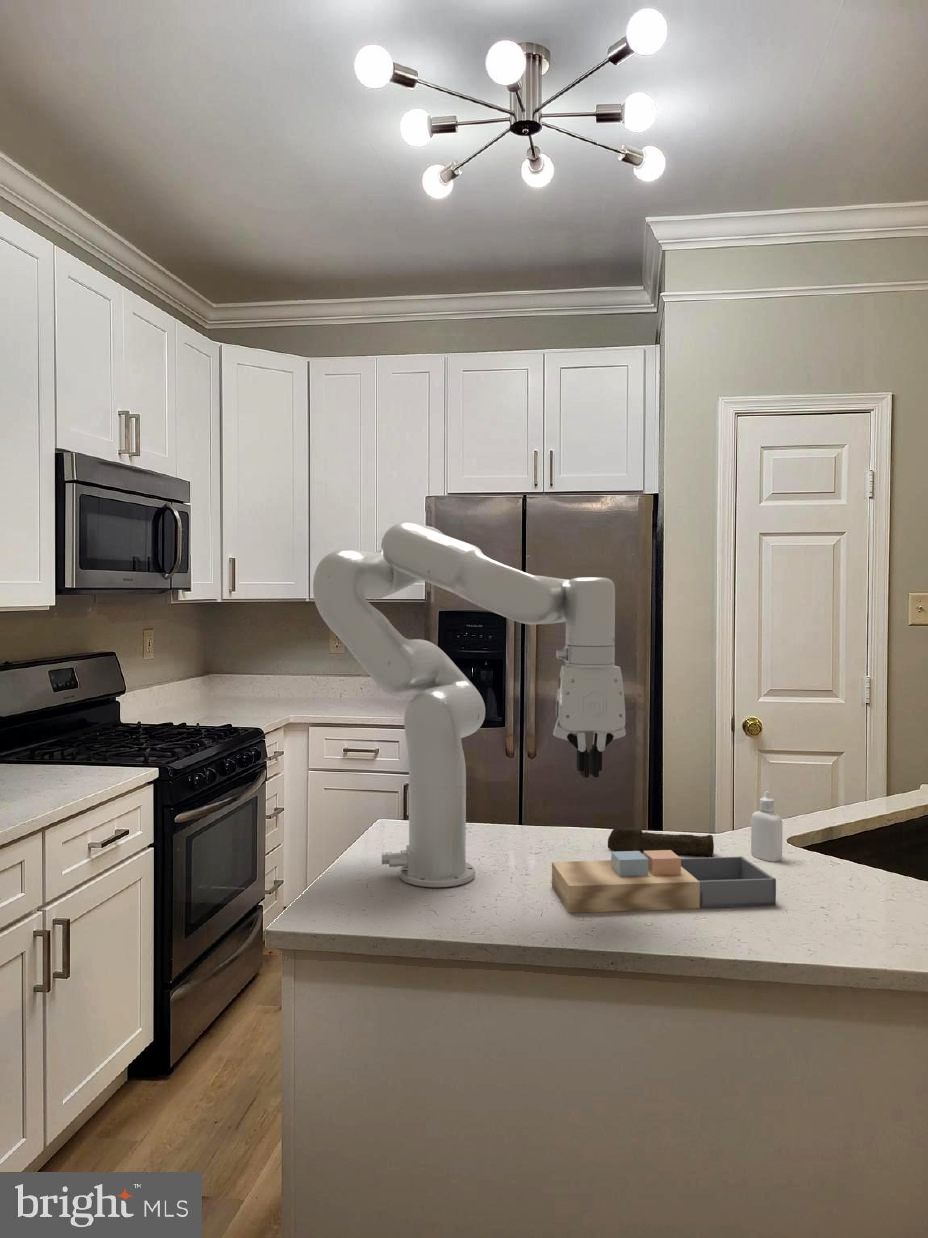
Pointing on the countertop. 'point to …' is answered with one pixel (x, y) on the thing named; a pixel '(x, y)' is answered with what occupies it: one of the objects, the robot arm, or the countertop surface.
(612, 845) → the hand tool
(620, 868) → the pale blue tile
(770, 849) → the eye dropper bottle
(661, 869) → the terracotta tile
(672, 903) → the oak board
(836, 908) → the countertop surface
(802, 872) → the countertop surface
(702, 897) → the tray
